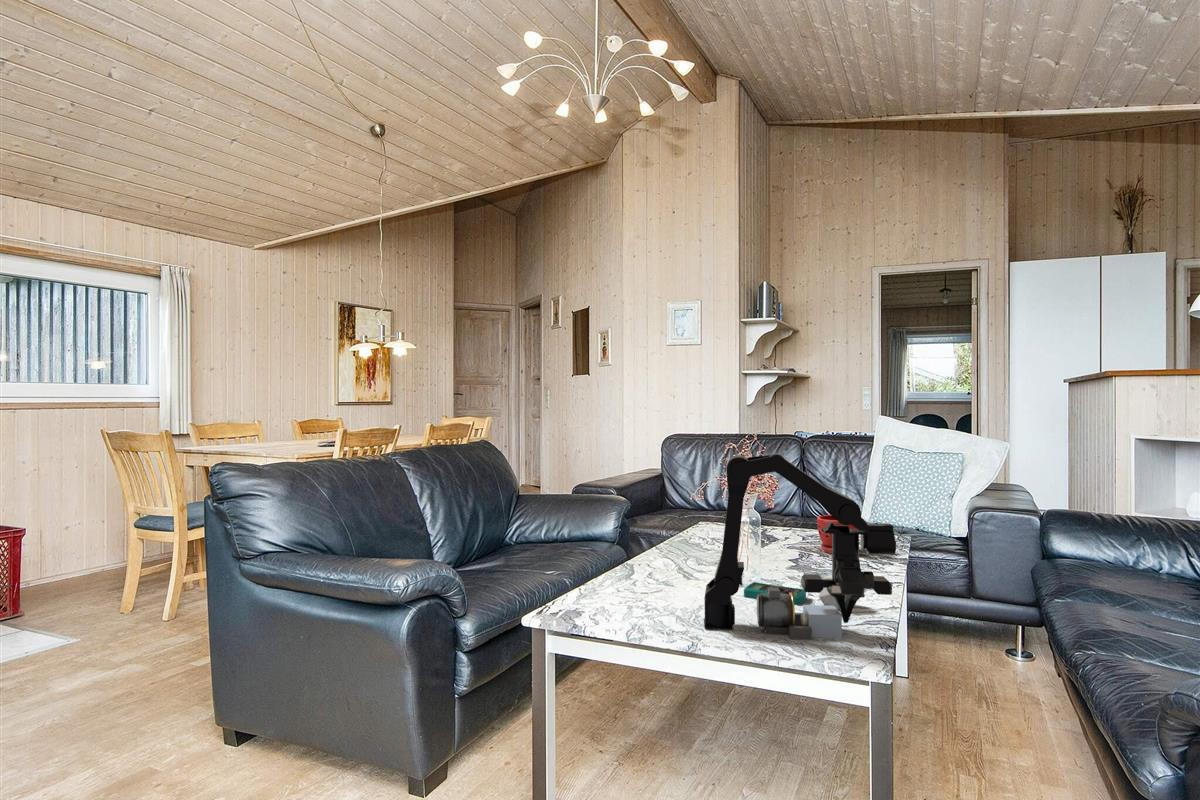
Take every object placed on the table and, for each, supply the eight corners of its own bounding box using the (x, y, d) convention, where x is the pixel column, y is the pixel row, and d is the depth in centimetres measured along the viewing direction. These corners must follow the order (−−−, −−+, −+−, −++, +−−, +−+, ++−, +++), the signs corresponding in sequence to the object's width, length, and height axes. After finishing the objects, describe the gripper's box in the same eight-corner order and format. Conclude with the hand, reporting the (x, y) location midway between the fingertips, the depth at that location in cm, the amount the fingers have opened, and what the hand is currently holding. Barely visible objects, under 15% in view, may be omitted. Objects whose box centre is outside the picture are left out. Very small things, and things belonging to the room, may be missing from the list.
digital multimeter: (800, 607, 178) (800, 595, 178) (742, 598, 186) (742, 586, 186) (808, 600, 184) (808, 588, 184) (752, 591, 192) (752, 580, 192)
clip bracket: (790, 639, 154) (790, 627, 154) (783, 622, 164) (783, 612, 164) (811, 639, 153) (811, 628, 153) (803, 623, 164) (803, 612, 164)
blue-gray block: (804, 636, 155) (804, 614, 155) (798, 626, 162) (798, 604, 162) (841, 637, 154) (841, 615, 154) (834, 627, 161) (834, 605, 161)
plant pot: (848, 547, 245) (848, 513, 245) (864, 555, 232) (864, 519, 232) (811, 548, 244) (811, 513, 244) (826, 556, 231) (826, 520, 231)
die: (826, 601, 183) (807, 574, 181) (856, 588, 180) (838, 560, 178) (830, 622, 176) (811, 594, 174) (862, 608, 173) (843, 580, 171)
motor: (760, 636, 156) (760, 594, 156) (756, 623, 164) (756, 583, 164) (795, 637, 155) (794, 595, 155) (789, 624, 163) (789, 584, 163)
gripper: (809, 560, 150) (809, 632, 151) (899, 562, 148) (899, 636, 148) (800, 549, 162) (800, 616, 162) (884, 551, 159) (884, 619, 159)
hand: (845, 622), depth 157 cm, fingers closed
